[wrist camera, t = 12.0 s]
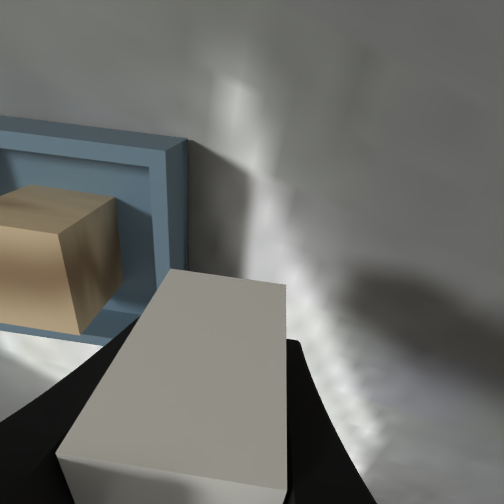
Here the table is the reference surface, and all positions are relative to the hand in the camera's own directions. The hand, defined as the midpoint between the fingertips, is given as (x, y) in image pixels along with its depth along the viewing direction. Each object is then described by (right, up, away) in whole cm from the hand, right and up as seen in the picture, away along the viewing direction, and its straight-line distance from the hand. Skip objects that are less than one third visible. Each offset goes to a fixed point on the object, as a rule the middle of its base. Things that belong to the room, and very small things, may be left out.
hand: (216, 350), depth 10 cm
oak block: (-10, +4, +9) cm, 14 cm away
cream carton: (0, +1, +1) cm, 1 cm away
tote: (-9, +5, +10) cm, 14 cm away
